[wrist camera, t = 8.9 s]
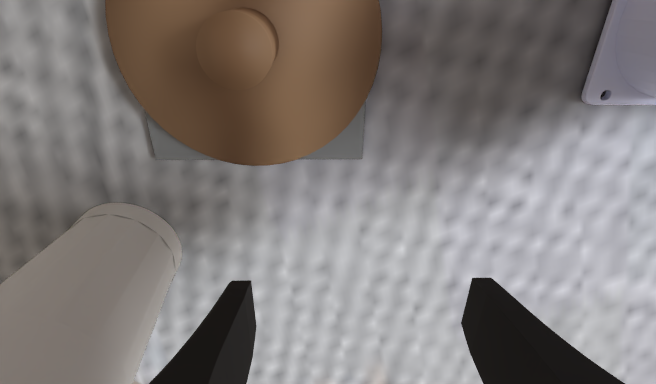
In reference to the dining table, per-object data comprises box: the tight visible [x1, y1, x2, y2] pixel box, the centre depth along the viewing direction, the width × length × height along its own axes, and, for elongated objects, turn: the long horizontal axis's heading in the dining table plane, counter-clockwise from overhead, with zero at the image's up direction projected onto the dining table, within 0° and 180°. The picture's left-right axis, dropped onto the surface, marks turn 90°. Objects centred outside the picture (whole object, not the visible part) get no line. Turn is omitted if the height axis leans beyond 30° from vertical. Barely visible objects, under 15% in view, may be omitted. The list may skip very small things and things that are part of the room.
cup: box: [0, 203, 182, 384], centre depth 18 cm, size 8×8×12 cm
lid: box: [105, 0, 382, 166], centre depth 16 cm, size 12×12×4 cm
